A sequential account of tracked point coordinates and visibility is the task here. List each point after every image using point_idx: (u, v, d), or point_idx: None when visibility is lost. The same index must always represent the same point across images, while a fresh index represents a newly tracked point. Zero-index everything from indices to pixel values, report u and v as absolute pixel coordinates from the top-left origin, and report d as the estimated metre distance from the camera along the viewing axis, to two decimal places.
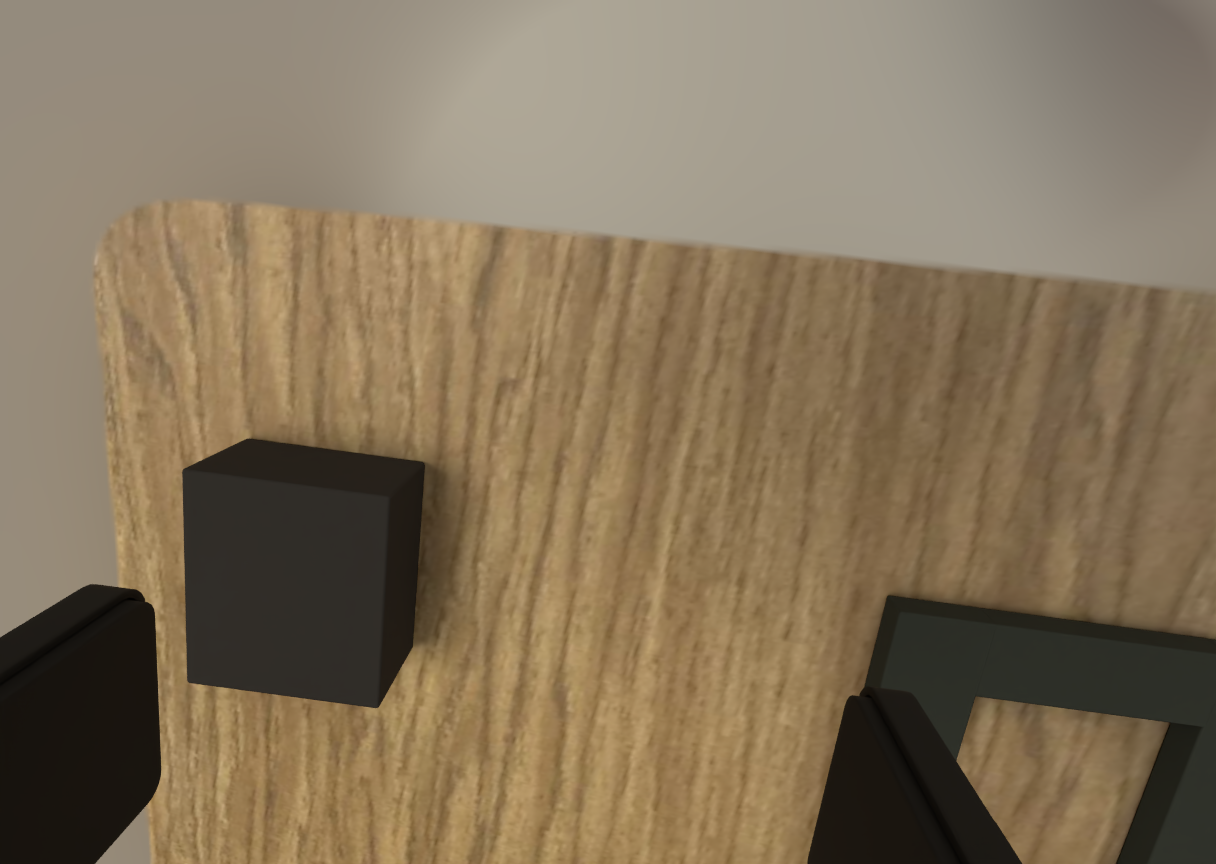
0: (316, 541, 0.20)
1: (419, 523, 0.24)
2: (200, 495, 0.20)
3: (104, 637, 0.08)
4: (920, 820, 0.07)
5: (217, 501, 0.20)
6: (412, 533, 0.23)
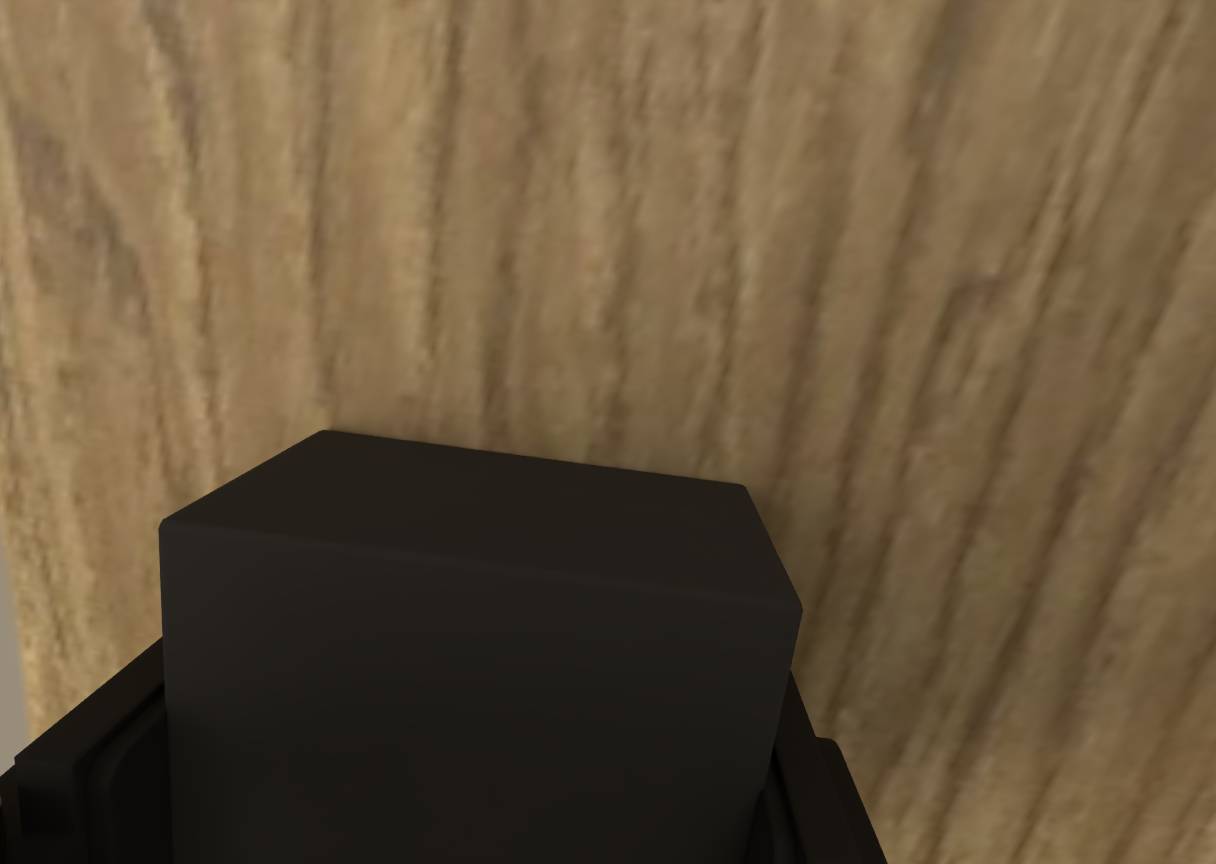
0: (562, 732, 0.07)
1: None
2: (215, 599, 0.07)
3: None
4: None
5: (266, 617, 0.07)
6: None
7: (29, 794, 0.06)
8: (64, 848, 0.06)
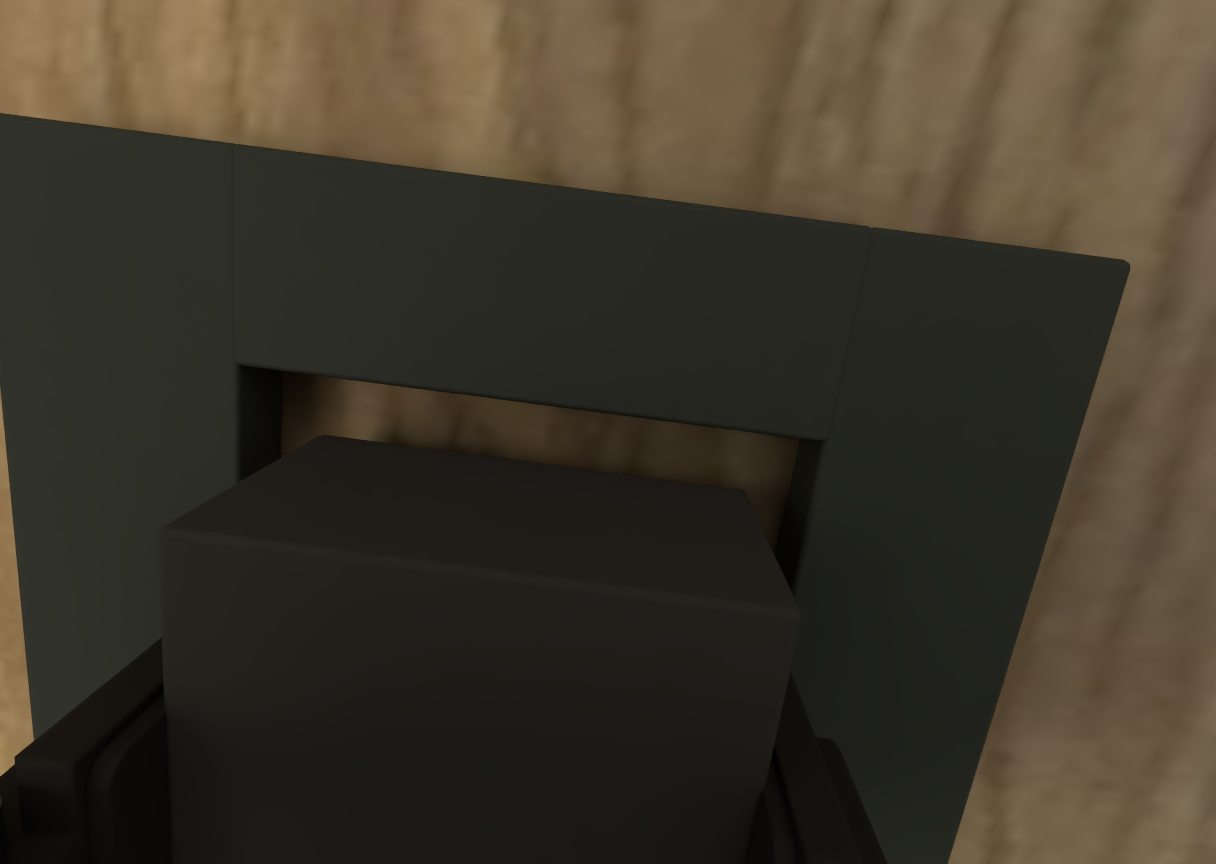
0: (561, 739, 0.07)
1: None
2: (215, 608, 0.07)
3: None
4: None
5: (265, 624, 0.07)
6: None
7: (29, 794, 0.06)
8: (64, 848, 0.06)
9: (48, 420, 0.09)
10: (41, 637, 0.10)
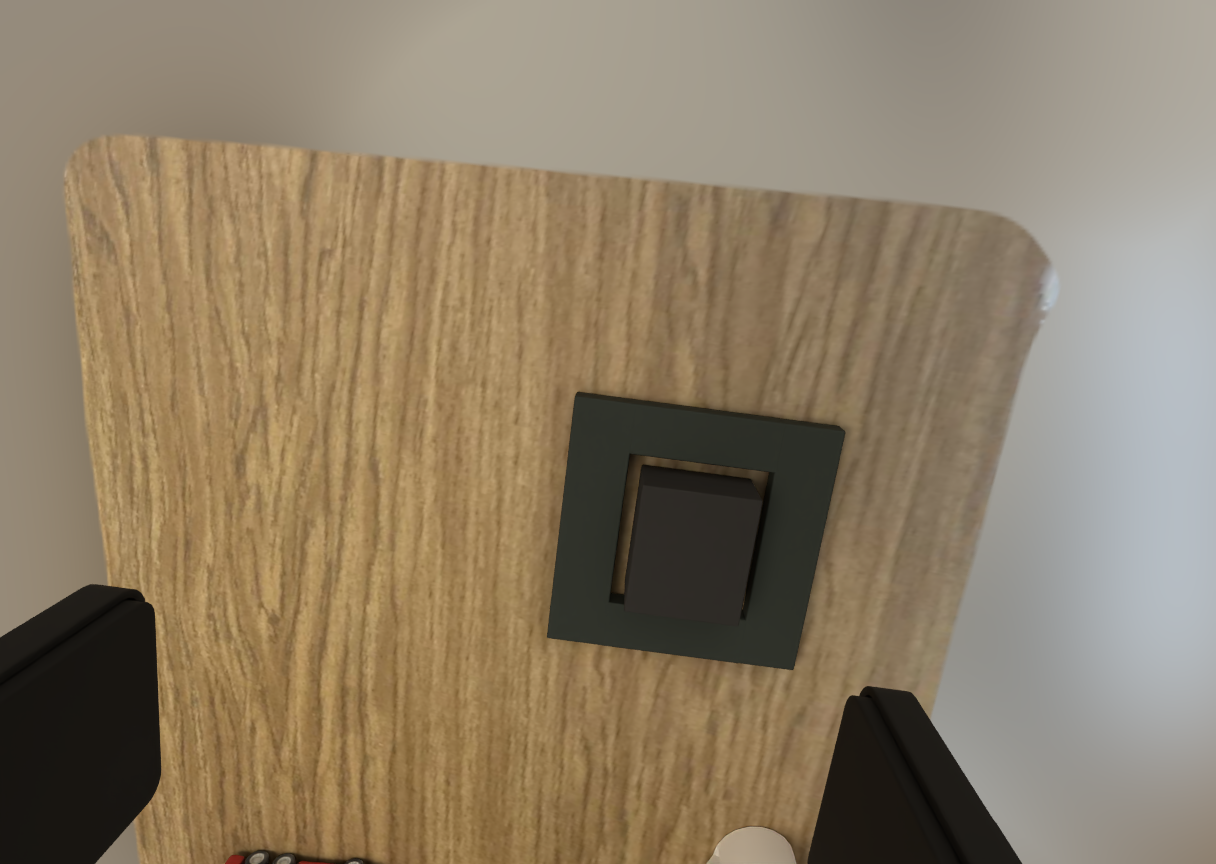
0: (716, 526, 0.35)
1: None
2: (651, 500, 0.35)
3: (104, 637, 0.08)
4: (920, 820, 0.07)
5: (660, 503, 0.35)
6: None
7: None
8: None
9: (579, 467, 0.37)
10: (565, 524, 0.38)
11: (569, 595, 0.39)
